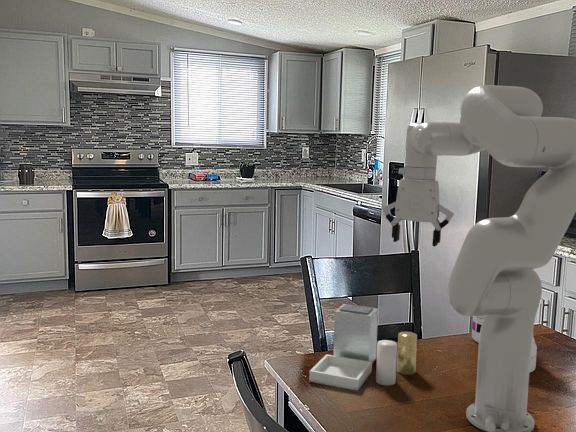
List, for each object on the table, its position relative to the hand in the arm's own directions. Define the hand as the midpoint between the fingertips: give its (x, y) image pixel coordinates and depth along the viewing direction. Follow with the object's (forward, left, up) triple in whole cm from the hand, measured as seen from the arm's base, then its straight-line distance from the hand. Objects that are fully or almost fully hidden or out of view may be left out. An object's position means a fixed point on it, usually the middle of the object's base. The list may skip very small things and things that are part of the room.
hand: (415, 243), depth 143 cm
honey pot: (+6, -23, -30) cm, 38 cm away
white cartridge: (-18, +2, -29) cm, 34 cm away
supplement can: (+21, -17, -30) cm, 40 cm away
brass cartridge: (-10, -1, -29) cm, 31 cm away
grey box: (-9, +12, -29) cm, 33 cm away
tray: (-20, +12, -29) cm, 37 cm away
